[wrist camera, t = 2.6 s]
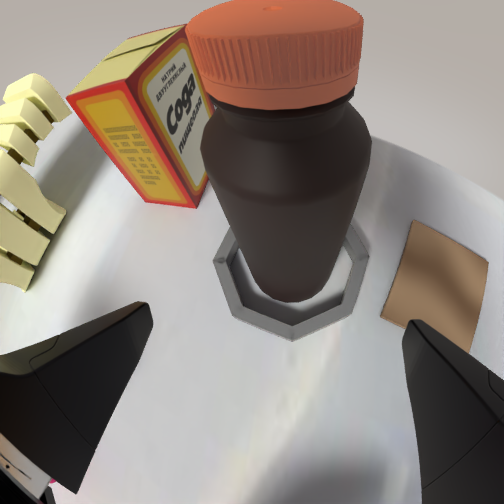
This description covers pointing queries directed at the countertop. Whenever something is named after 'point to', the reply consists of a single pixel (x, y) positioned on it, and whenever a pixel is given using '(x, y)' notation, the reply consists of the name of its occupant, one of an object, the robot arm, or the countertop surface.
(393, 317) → the pad
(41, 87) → the slatted curved stool
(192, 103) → the baking soda box
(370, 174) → the countertop surface
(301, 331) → the octagonal ring
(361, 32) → the vinegar
